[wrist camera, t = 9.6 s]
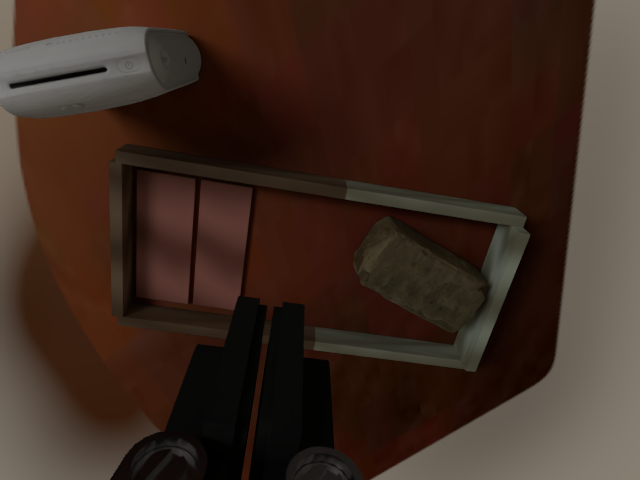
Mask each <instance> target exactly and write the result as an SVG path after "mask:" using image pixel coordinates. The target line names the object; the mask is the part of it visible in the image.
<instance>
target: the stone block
mask: <svg viewBox="0 0 640 480" xmlns="http://www.w3.org/2000/svg"><path fill="white" fill-rule="evenodd" d="M353 264H354V268H355V271H356V273H357V275H358V277H359V280H360V283H361V285H363V286H366V287H368V288H370V289H373V290H375V291H377V292H379V293H380V294H381V295H382V296H383V297H384V298H386V299H388V300H390V301H392V302H394V303H396V304H398V305H399V306H401V307H403V308H405V309H406V310H408V311H410V312H412V313H414V314H415V315H417V316H419V317H421V318H423V319H425V320H427V321H429V322H431V323H433V324H435V325H437V326H439V327H441V328H443V329H444V330H446V331H448V332H456V331H458V330H460V329H461V328H462V327H463V326H464V325H465V324H466V323H467V321H468V320H469V319H471V318H472V317H473V315H474V313H475V312H476V310H477V309H478V308H479V307H480V305H481V304H482V302H483V301H484V300H485V292H486V291H487V289H488V287H489V286H488V284H487V282H486V281H485V279H484V278H483V277H482V275H481V274H480V272H479V270H478V269H477V268H476V267H475V266H473V265H471V264H469V263H468V262H466V261H465V260H463V259H461V258H459V257H457V256H456V255H454V254H452V253H451V252H449V251H447V250H446V249H444V248H442V247H441V246H439V245H437V244H435V243H433V242H431V241H430V240H429V239H427V238H426V237H424V236H422V235H420V234H419V233H417V232H416V231H414V230H413V229H412V228H411V227H409V226H407V225H406V224H404V223H402V222H401V221H399V220H397V219H394V218H392V217H390V216H386V217H384V218H382V219H381V220H380V221H378V222H376V223H375V225H374V226H373V227H372V228H371V230H370V231H369V233H368V234H367V235H366V236H365V238H364V240H363V242H362V244H361V245H360V247H359V248H358V249H357V250H356V252H355V254H354V259H353Z"/></svg>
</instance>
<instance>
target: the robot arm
mask: <svg viewBox="0 0 640 480" xmlns="http://www.w3.org/2000/svg"><path fill="white" fill-rule="evenodd" d="M259 302H260V299H258V298H251V297H243V296H238V298H237V302H236V305H235V309H234V313H233V316H232V320H231V323H230V327H229V331H228V334H227V338H226V341H225V345H224V347H217V346H209V345H201V344H198V345H197V346H196V348H195V350H194V353H193V356H192V358H191V361H190V364H189V366H188V369H187V372H186V375H185V377H184V380H183V383H182V385H181V388H180V391H179V394H178V396H177V399H176V402H175V404H174V407H173V410H172V413H171V415H170V418H169V421H168V423H167V426H166V429H165V431H163V432H157V433H154V434H152V435H149V436H147V437H145V438H143V439H142V440H140V441H139V442H138V443H136V444H135V445H134V446H133V447H132V448H131V449H130V450H129V452H128V453H127V454H126V455H125V457H124V458H123V460H122V461H121V463H120V465H119V466H118V468H117V470H116V471H115V473H114V474H113V476H112V477H111V479H110V480H241V476H242V470H243V463H244V457H245V450H246V444H247V438H248V431H249V425H250V419H251V412H252V406H253V399H254V393H255V386H256V379H257V372H258V366H259V359H260V352H261V345H262V338H263V332H264V325H265V318H266V311H267V305H260V304H259ZM304 308H305V307H304V305H302V304H295V303H288V302H283V306H282V307H274V311H273V317H272V323H271V330H270V336H269V343H268V349H267V356H266V362H265V369H264V375H263V382H262V388H261V395H260V402H259V409H258V416H257V423H256V431H255V438H254V445H253V452H252V459H251V467H250V474H249V480H363V478H362V476H361V474H360V471H359V469H358V467H357V466H356V465H355V464H354V463H353V461H352V460H351V459H350V458H349V457H347V456H346V455H344V454H343V453H342V452H340V451H337V450H335V449H334V436H333V419H332V401H331V384H330V367H329V361H328V360H321V359H313V358H305V357H303V355H304Z"/></svg>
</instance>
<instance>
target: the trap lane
mask: <svg viewBox="0 0 640 480" xmlns="http://www.w3.org/2000/svg"><path fill="white" fill-rule="evenodd" d="M133 166H139V167H145V168H152V169H158V170H164V171H170V172H177V173H183V174H189V175H196V176H202V177H208V178H214V179H221V180H227V181H233V182H239V183H246V184H252V185H258V186H264V187H271V188H277V189H283V190H290V191H296V192H302V193H308V194H315V195H321V196H327V197H333V198H340V199H346V200H352V201H358V202H365V203H371V204H377V205H384V206H390V207H396V208H402V209H409V210H415V211H421V212H427V213H434V214H440V215H446V216H452V217H459V218H465V219H471V220H478V221H484V222H490V223H496V224H498V225H497V228H496V231H495V234H494V236H493V239H492V242H491V244H490V247H489V250H488V253H487V255H486V258H485V261H484V264H483V266H482V269H481V272H480V274H481V275H482V277H483V278H484V279H485V281H486V282H487V284H488V286H489V287H488V289H487V291H486V292H485V300H484V301H483V302H482V304H481V305H480V307H479V308H478V309H477V310H476V312H475V313H474V315H473V317H472V318H471V319H469V320H468V321H467V323H466V324H465V325H464V326H463V327H462V328H461V329H460V330H459V332H458V335H457V337H456V340H455V343H454V345H449V344H442V343H434V342H427V341H419V340H411V339H404V338H396V337H389V336H381V335H374V334H366V333H358V332H351V331H343V330H336V329H328V328H321V327H313V326H305V325H304V349H311V350H318V351H326V352H334V353H342V354H350V355H358V356H366V357H374V358H381V359H389V360H397V361H405V362H413V363H421V364H429V365H436V366H444V367H452V368H460V369H465V370H466V371H473V372H475V371H476V369H477V367H478V364H479V362H480V359H481V357H482V354H483V352H484V349H485V347H486V344H487V342H488V339H489V337H490V334H491V332H492V329H493V327H494V324H495V322H496V319H497V317H498V314H499V312H500V309H501V307H502V305H503V302H504V300H505V297H506V295H507V292H508V290H509V287H510V285H511V282H512V280H513V277H514V275H515V272H516V270H517V267H518V265H519V262H520V260H521V257H522V255H523V252H524V250H525V248H526V245H527V243H528V240H529V238H530V235H531V234H529V233H528V232H527V231H526V230H525V229H524V228H523V226H524V224H525V221H526V219H527V217H526V216H525V215H524V214H522V213H521V212H520V211H519V210H518V209H516V208H515V207H509V206H503V205H497V204H491V203H485V202H479V201H473V200H467V199H461V198H454V197H448V196H442V195H436V194H430V193H424V192H418V191H412V190H406V189H399V188H393V187H387V186H381V185H375V184H369V183H363V182H357V181H351V180H345V179H338V178H332V177H326V176H320V175H314V174H308V173H302V172H296V171H290V170H283V169H277V168H271V167H265V166H259V165H253V164H247V163H241V162H235V161H228V160H222V159H216V158H210V157H204V156H198V155H192V154H186V153H180V152H174V151H167V150H161V149H155V148H149V147H143V146H137V145H131V144H126V145H124V146H122V147H120V148H119V149H117V150H115V158H114V159H112V160H111V161H109V190H110V239H111V287H112V316H118V325H122V326H130V327H138V328H145V329H153V330H161V331H169V332H177V333H185V334H193V335H200V336H208V337H216V338H224V339H226V338H227V334H228V331H229V327H230V323H231V320H232V316H230V315H222V314H214V313H207V312H199V311H192V310H184V309H177V308H169V307H161V306H154V305H146V304H139V303H133ZM252 192H253V187H252V186H246V185H240V184H234V183H227V182H221V181H215V180H208V179H202V180H201V191H200V206H199V221H198V236H197V251H196V265H195V280H194V295H193V305H200V306H207V307H215V308H222V309H230V310H234V309H235V305H236V302H237V298H238V296H240V294H241V285H242V277H243V268H244V260H245V251H246V243H247V234H248V226H249V217H250V209H251V200H252ZM195 194H196V177H190V176H183V175H177V174H171V173H164V172H158V171H152V170H146V169H139V168H138V169H137V256H136V297H140V298H147V299H155V300H162V301H170V302H177V303H185V304H188V302H189V290H190V274H191V258H192V242H193V226H194V210H195ZM271 323H272V321H267V320H265V325H264V332H263V338H262V343H263V344H268V343H269V336H270V330H271Z"/></svg>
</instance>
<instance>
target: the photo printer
mask: <svg viewBox="0 0 640 480" xmlns="http://www.w3.org/2000/svg"><path fill="white" fill-rule="evenodd" d="M200 68H201V55H200V52H199V49H198V47H197V46H196V44H195V43H194V42H193V40H192V39H190V38H189V37H188V33H187V32H186V31H182V30H173V29H163V28H150V27H120V28H112V29H103V30H97V31H90V32H83V33H77V34H72V35H66V36H61V37H55V38H50V39H46V40H41V41H37V42H32V43H28V44H24V45H20V46H16V47H13V48H10V49H7V50H5V51H3V52H1V53H0V105H1V106H2V107H3V108H4V109H5V110H6V111H8V112H9V113H11V114H13V115H16V116H19V117H28V118H49V117H60V116H67V115H74V114H80V113H87V112H93V111H99V110H104V109H109V108H115V107H119V106H124V105H129V104H133V103H137V102H142V101H144V100H147V99H151V98H154V97H157V96H159V95H162V94H164V93H167V92H170V91H172V90H175V89H178V88H180V87H183V86H186V85H189V84H191V83H194V82H196V81H197V80H199V76H198V73H199V71H200Z"/></svg>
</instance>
